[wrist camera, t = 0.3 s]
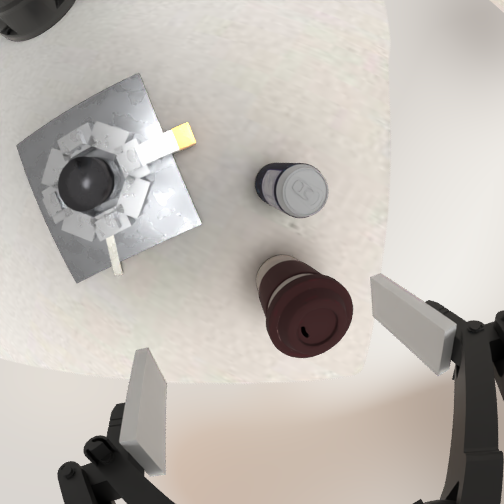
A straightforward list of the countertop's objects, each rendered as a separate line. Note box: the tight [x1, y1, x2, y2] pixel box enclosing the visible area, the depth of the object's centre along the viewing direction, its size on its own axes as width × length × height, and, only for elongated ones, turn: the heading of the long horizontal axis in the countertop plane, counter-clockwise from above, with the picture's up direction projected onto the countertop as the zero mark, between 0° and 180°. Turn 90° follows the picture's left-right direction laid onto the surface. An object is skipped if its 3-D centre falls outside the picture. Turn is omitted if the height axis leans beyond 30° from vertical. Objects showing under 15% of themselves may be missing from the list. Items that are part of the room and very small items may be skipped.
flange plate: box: [16, 73, 202, 283], centre depth 33 cm, size 24×23×8 cm
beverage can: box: [255, 163, 328, 218], centre depth 35 cm, size 6×6×12 cm
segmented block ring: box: [41, 121, 196, 242], centre depth 33 cm, size 14×20×5 cm
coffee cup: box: [256, 255, 353, 358], centre depth 38 cm, size 10×10×15 cm
